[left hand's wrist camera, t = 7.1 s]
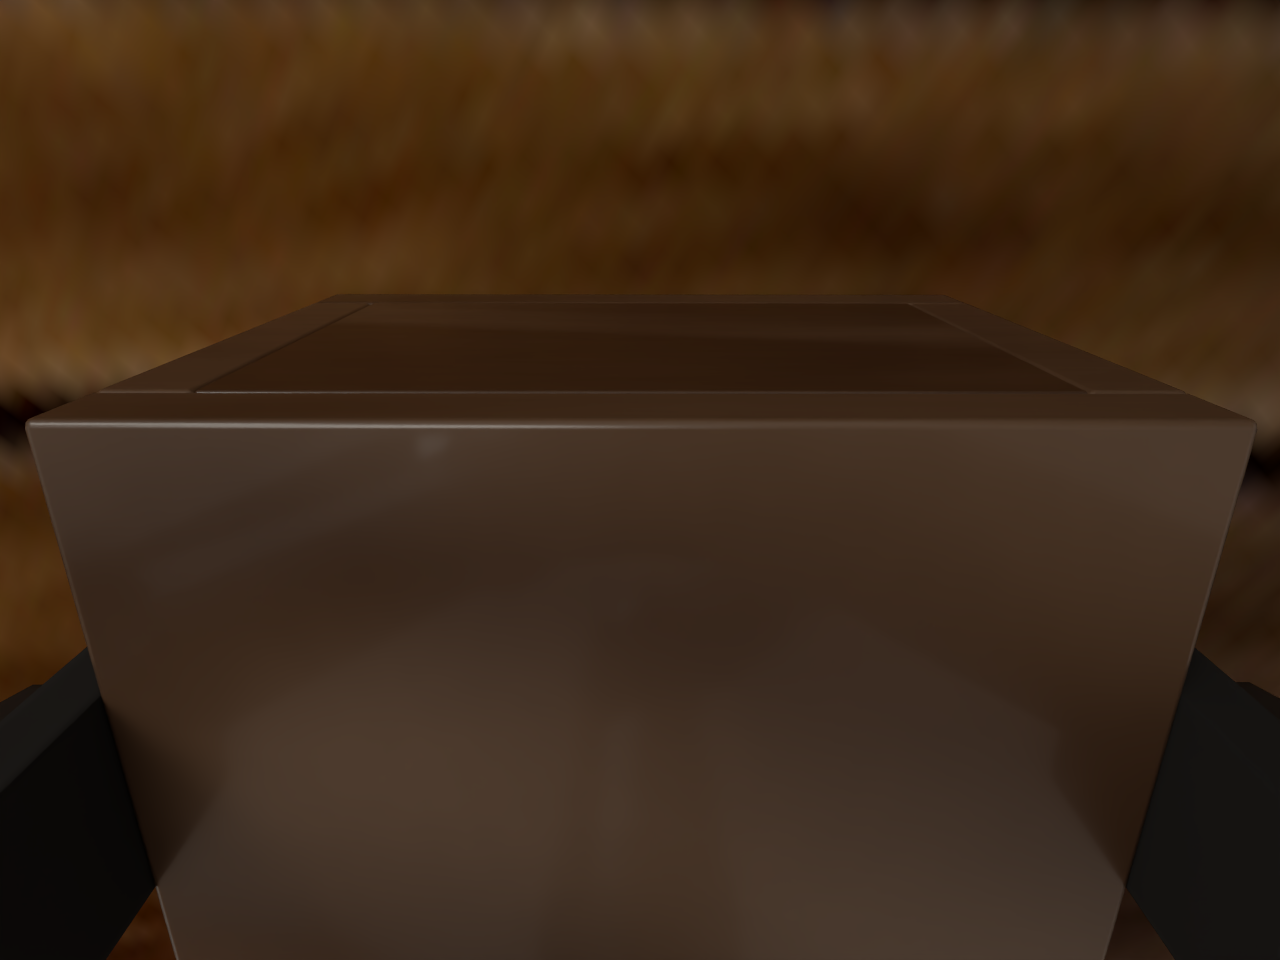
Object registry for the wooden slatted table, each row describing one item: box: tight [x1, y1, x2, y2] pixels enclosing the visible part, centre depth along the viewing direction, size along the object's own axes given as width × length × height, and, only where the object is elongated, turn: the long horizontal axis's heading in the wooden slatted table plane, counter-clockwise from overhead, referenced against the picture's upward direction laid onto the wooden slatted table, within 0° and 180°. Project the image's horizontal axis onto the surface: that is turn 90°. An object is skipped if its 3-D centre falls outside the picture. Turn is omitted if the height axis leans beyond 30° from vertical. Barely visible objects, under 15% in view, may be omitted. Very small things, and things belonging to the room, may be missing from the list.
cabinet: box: [25, 295, 1257, 960], centre depth 15 cm, size 20×12×8 cm, turn 0°
